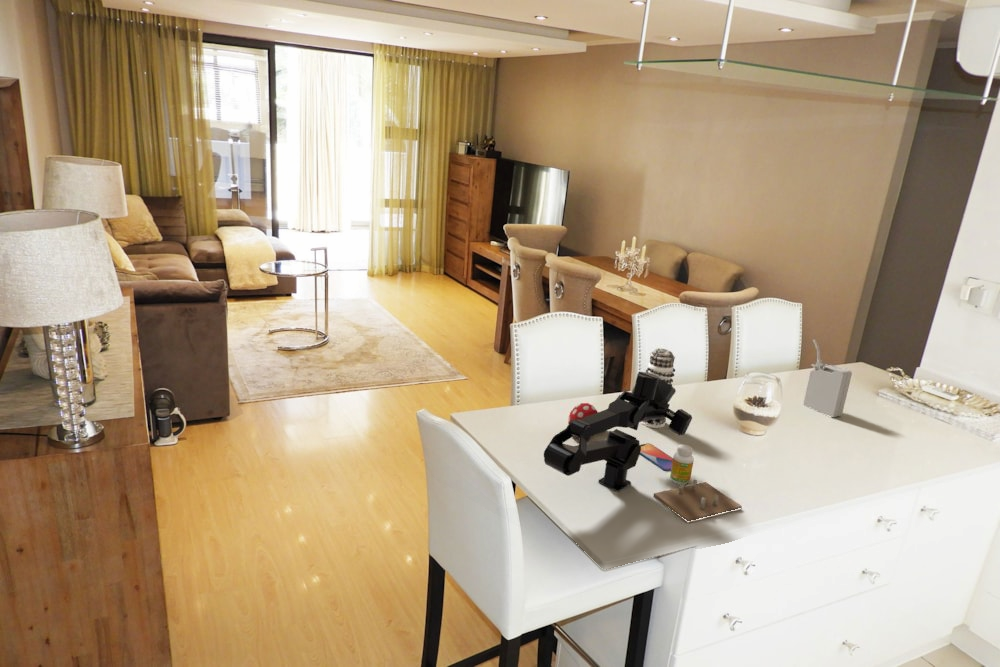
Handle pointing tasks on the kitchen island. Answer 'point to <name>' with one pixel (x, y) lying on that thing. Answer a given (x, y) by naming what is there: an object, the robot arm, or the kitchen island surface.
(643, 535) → the kitchen island surface
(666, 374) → the decorative candle
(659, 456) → the smartphone
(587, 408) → the decorative mushroom
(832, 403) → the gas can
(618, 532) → the kitchen island surface
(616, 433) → the robot arm
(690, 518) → the pin tray
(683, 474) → the supplement bottle
